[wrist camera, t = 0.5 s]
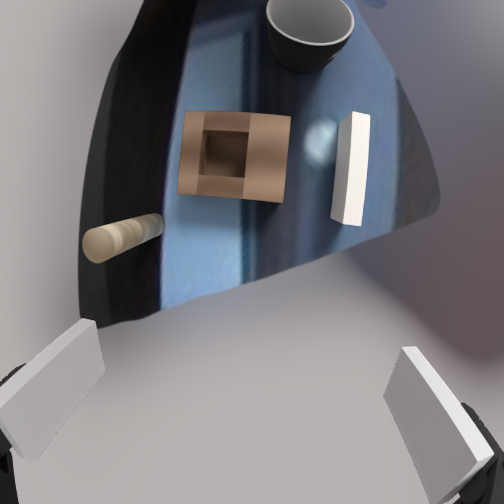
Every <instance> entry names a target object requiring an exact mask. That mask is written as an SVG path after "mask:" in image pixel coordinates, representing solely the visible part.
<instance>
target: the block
mask: <svg viewBox="0 0 504 504" xmlns="http://www.w3.org/2000/svg"><path fill="white" fill-rule="evenodd" d="M290 121H291V117H290V116H281V115H272V114H261V113H247V112H229V111H186V112H185V119H184V127H183V135H182V144H181V153H180V163H179V174H178V186H177V194H186V195H201V196H215V197H227V198H239V199H250V200H260V201H270V202H280V203H283V196H284V186H285V176H286V166H287V155H288V144H289V133H290Z"/></svg>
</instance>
